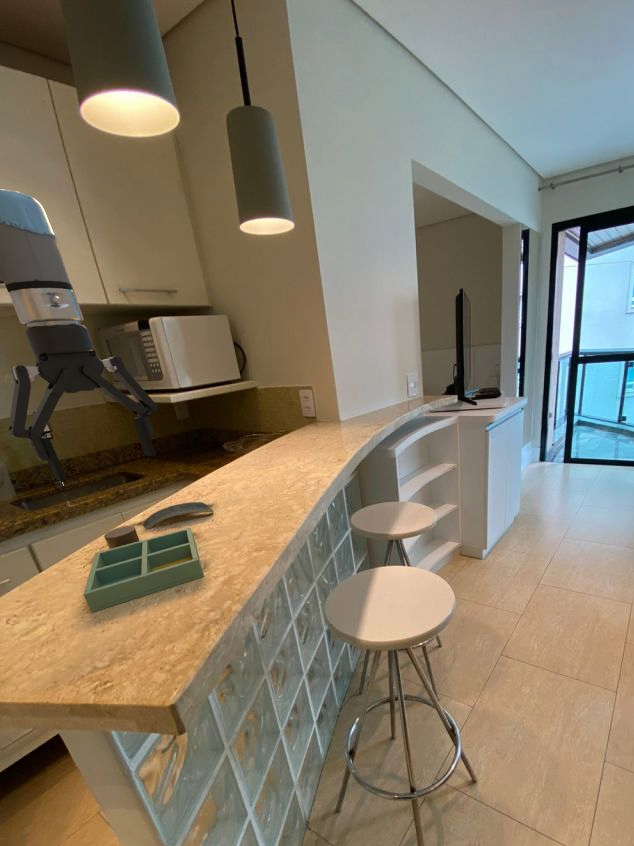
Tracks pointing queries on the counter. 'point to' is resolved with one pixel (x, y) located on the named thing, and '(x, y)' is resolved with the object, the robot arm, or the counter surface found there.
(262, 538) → the counter surface
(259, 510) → the counter surface
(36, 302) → the robot arm
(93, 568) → the grid
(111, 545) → the brown short cylinder
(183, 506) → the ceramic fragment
